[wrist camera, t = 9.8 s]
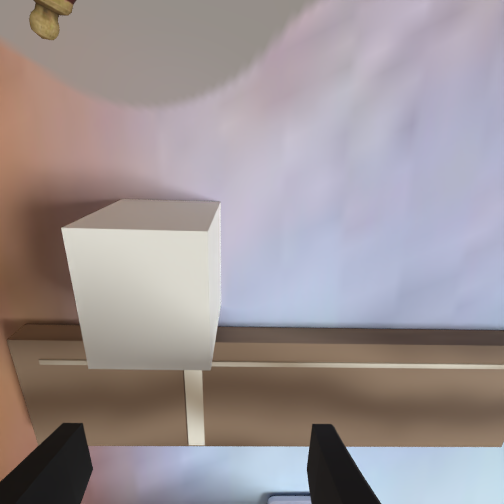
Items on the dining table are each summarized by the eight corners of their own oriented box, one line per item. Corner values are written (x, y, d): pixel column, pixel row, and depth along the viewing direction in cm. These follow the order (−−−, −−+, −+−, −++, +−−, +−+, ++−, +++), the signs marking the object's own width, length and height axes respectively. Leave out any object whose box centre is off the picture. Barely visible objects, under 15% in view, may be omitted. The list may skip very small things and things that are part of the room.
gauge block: (221, 307, 18) (210, 376, 13) (135, 306, 18) (89, 374, 13) (220, 201, 16) (207, 231, 10) (122, 198, 16) (61, 228, 10)
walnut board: (484, 426, 21) (502, 448, 20) (52, 424, 21) (37, 447, 19) (522, 330, 19) (546, 347, 17) (25, 324, 18) (5, 341, 16)
